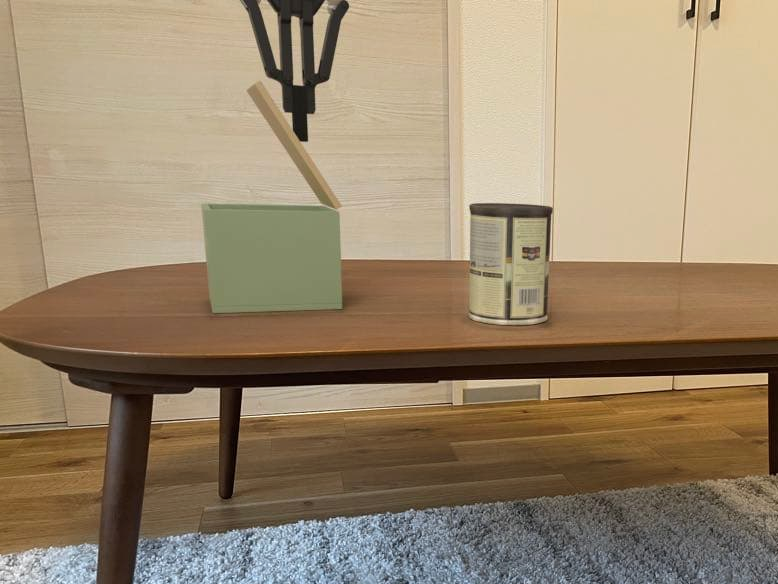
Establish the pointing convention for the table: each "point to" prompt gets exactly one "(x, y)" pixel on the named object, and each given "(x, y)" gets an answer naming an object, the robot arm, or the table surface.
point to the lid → (292, 145)
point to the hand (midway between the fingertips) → (300, 141)
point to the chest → (272, 257)
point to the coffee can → (509, 263)
